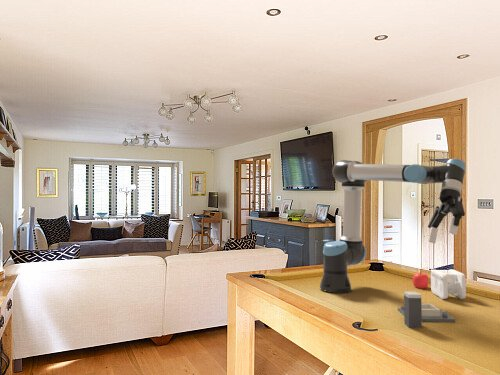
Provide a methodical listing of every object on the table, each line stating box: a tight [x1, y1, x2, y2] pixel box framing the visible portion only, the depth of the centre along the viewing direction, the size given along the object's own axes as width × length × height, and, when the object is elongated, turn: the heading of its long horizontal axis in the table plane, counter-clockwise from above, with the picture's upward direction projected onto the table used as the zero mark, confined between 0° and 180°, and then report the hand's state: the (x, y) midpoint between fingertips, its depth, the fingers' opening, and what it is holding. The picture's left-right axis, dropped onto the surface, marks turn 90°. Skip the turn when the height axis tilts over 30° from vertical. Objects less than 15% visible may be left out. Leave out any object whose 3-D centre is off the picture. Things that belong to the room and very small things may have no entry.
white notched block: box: [430, 268, 467, 300], centre depth 176 cm, size 15×11×12 cm
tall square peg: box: [403, 291, 423, 329], centre depth 136 cm, size 4×4×12 cm
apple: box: [412, 271, 430, 290], centre depth 194 cm, size 8×8×8 cm
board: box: [397, 303, 456, 323], centre depth 147 cm, size 16×14×4 cm
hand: (441, 238), depth 150 cm, fingers open, 13 cm apart
